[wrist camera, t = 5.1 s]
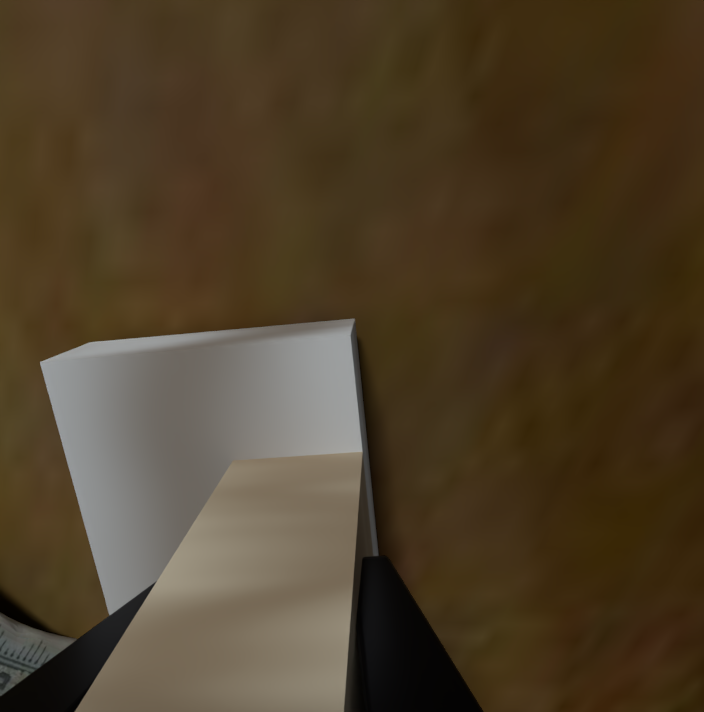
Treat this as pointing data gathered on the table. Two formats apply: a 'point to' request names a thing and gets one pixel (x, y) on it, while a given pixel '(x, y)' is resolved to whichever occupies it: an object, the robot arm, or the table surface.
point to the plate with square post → (224, 513)
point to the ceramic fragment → (25, 650)
